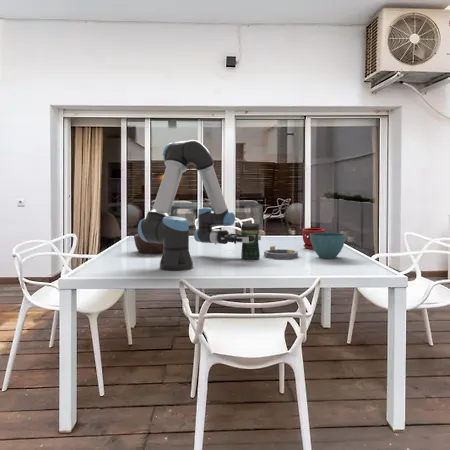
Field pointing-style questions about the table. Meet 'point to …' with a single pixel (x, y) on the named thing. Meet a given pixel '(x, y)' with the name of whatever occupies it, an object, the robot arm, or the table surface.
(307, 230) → the plant pot
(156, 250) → the wooden bowl
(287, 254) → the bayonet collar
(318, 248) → the plant pot
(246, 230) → the coffee jar
